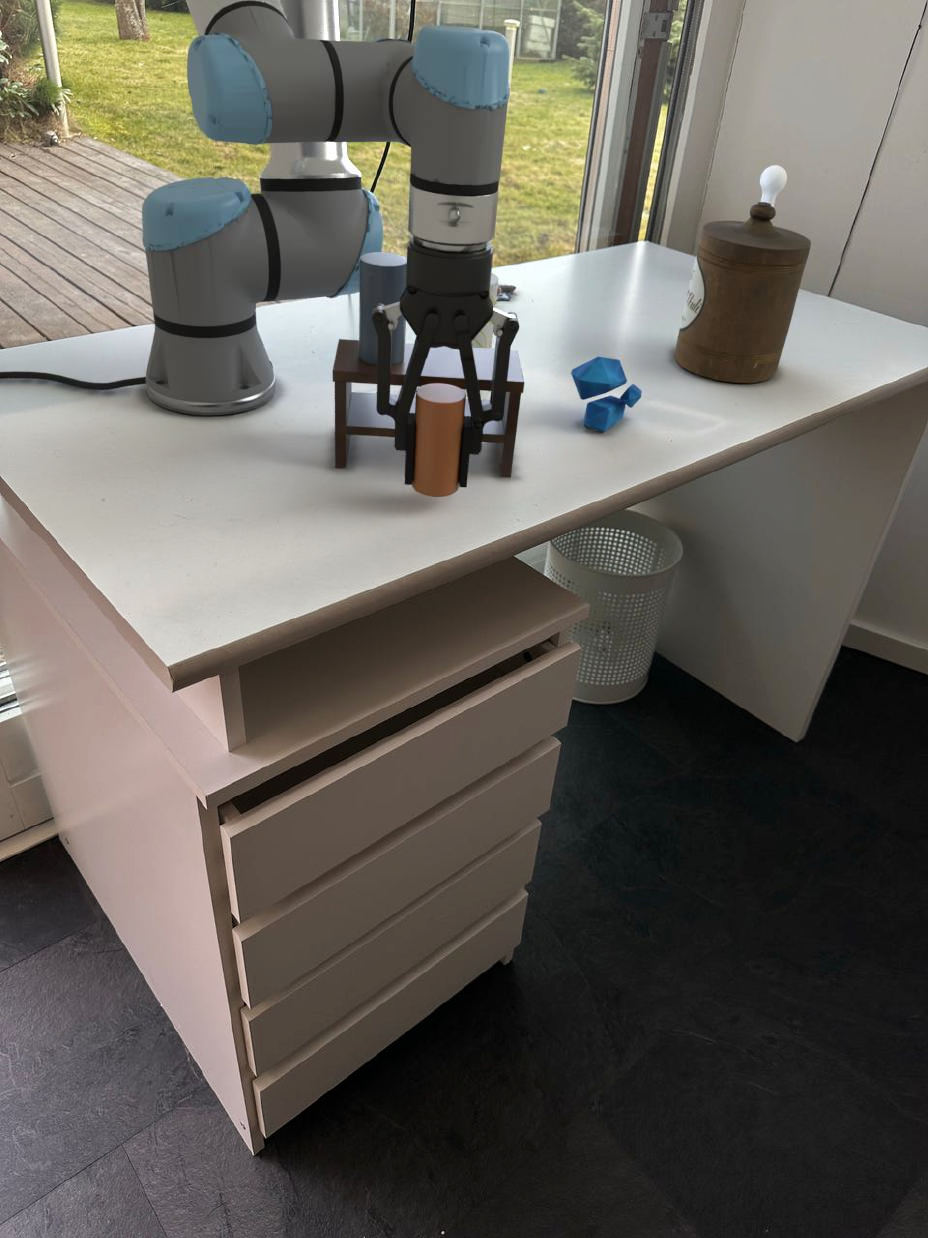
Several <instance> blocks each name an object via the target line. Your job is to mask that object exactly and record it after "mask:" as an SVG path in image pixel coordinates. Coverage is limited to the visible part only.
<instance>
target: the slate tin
mask: <svg viewBox="0 0 928 1238" xmlns="http://www.w3.org/2000/svg"><path fill="white" fill-rule="evenodd" d="M406 265H407V256H403V255H401V254H398V253H394V252H393V253H392V252H386V251H385V252H384V251H382V252H372V253H367V254H363V255H362V256H360V286H359V292H358V293H359V294H358V295H359V296H358V297H359V299H358V301H359V302H358V303H359V305H358V306H359V307H358V316H359V317H358V340H359V358H360V359H361V360H363V361H364V362H367V363H370V364H374V365H378V336H377V333H376V330H375V327H374V324H373V321H372V314H373V308H374V306H375V305H376V304H378V303H381V304H383V305H384V306H386V305H389V304H393V303H396V302H399V301H400V298H401V296H402V294H403V292H404V290H405V287H406ZM406 328H407V321H406V319H405V318H404V316H403V315H402V316H400V317H399V318H398V325H397V328H396V329H395V330H392V351H391V365H394V364H398V363H400V362H402V361H403V360H404V357H405V343H406V330H407V329H406Z"/></svg>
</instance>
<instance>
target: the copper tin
mask: <svg viewBox="0 0 928 1238" xmlns="http://www.w3.org/2000/svg"><path fill="white" fill-rule="evenodd" d="M415 396H416V402H415V431H414V452H413V472H412V485H411V488H412V489H413V490H414V491H415V492H417V493H418V494H420V495H423V496H426V497H432V498H443V497H444V498H445V497H449V496H452V495H454V494H456V493H457V492H458V490H459V488H460V487H459V476H460V464H461V451H462V439H463V427H464V415H465V402H466V399H467V392H465V390H464V389H460V388H459V387H456V386H453V385H449V384H441V383H433V384H426V385H423V386H421V387H417V390H416V393H415Z"/></svg>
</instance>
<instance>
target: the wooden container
mask: <svg viewBox="0 0 928 1238" xmlns="http://www.w3.org/2000/svg"><path fill="white" fill-rule="evenodd" d="M776 214H777V211H776V209H775V206H774V207H772V206H771V204H770V203H767V202H760V201H758V202H757V203H755V204H753V205H751V206H750V210H749V218H748V219H747V220H746V221H743V220H717V221H716V220H715V221H710V222H706V223H705V224H703V225H702V228H701V231H700V236H699V240H698V243H697V244H698V245H697V252H696V256H695V260H694V264H693V268H692V273H691V277H690V282H689V285H688V289H687V292H686V297H685V302H684V306H683V310H682V316H681V320H680V325H679V329H678V336H677V340H676V345H675V349H674V356H673V357H674V359H675V361H676V363H677V364H678V365H680V366H681V367H682V368H684V369H686V370H687V371H689V372H691V373H693V374H695V375H698V376H701V377H703V378H708V379H711V380H715V381H720V382H726V383H737V384H753V383H755V384H756V383H760V382H761V383H762V382H765V381H768V380H770V379H772V378H774V376H775V375H776V374H777V371H778V368H779V364H780V361H781V359H782V353H783V350H784V346H785V343H786V341H787V336H788V333H789V331H790V326H791V322H792V320H793V319H792V318H793V315H794V310H795V305H796V302H797V298H798V294H799V291H800V287H801V284H802V279H803V277H804V276H803V275H804V271H805V267H806V265H807V261H808V258H809V256H810V252H811V246H812V241H811V239H809V238H808V237H806V236H805V235H803V234H801V233H800V232H799V233H798V232H796V231H793V230H790V229H786V228H784V227H780V226H776V225H774V224H773V223H772V220H773V219H774V218H775V217H776Z"/></svg>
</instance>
